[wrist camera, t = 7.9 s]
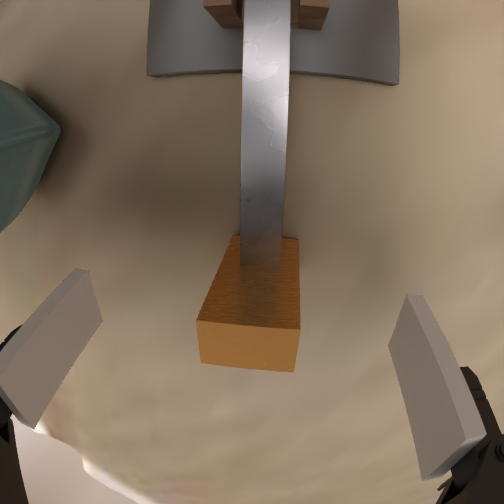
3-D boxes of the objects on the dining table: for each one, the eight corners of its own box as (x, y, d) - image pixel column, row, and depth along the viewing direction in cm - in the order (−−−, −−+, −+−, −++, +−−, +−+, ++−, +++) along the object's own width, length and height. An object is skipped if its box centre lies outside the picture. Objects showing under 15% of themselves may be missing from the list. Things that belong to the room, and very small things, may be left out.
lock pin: (233, 268, 21) (201, 362, 13) (239, -44, 12) (204, -124, 4) (294, 273, 20) (293, 372, 13) (308, -44, 11) (315, -127, 4)
